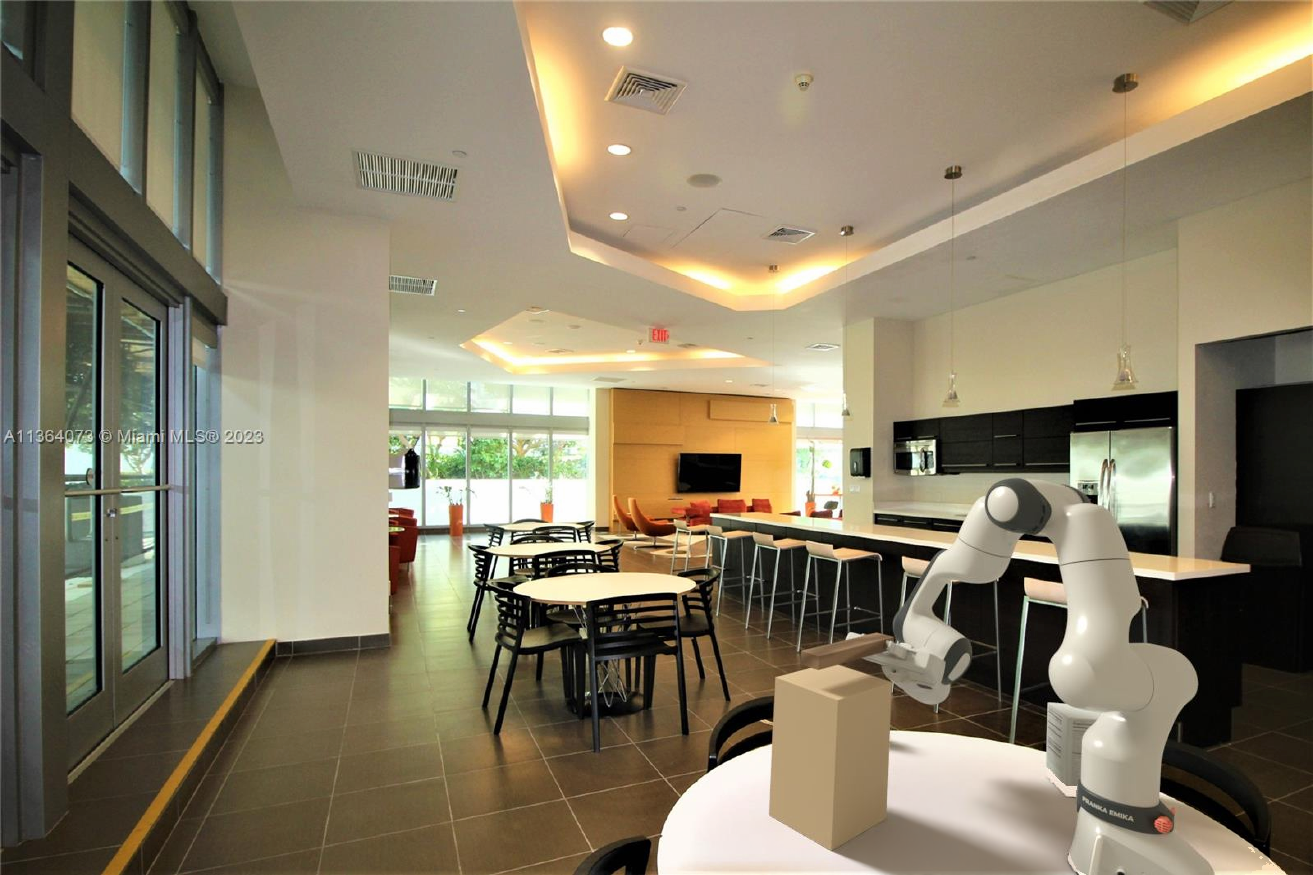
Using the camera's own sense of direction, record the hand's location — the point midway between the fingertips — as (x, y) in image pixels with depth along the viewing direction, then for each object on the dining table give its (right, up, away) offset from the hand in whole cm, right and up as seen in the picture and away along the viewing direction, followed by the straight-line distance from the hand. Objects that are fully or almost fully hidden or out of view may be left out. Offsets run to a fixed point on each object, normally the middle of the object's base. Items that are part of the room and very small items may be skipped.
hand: (875, 640), depth 136 cm
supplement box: (+46, -35, +7) cm, 58 cm away
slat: (-7, -1, -6) cm, 9 cm away
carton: (-13, -31, -10) cm, 35 cm away
